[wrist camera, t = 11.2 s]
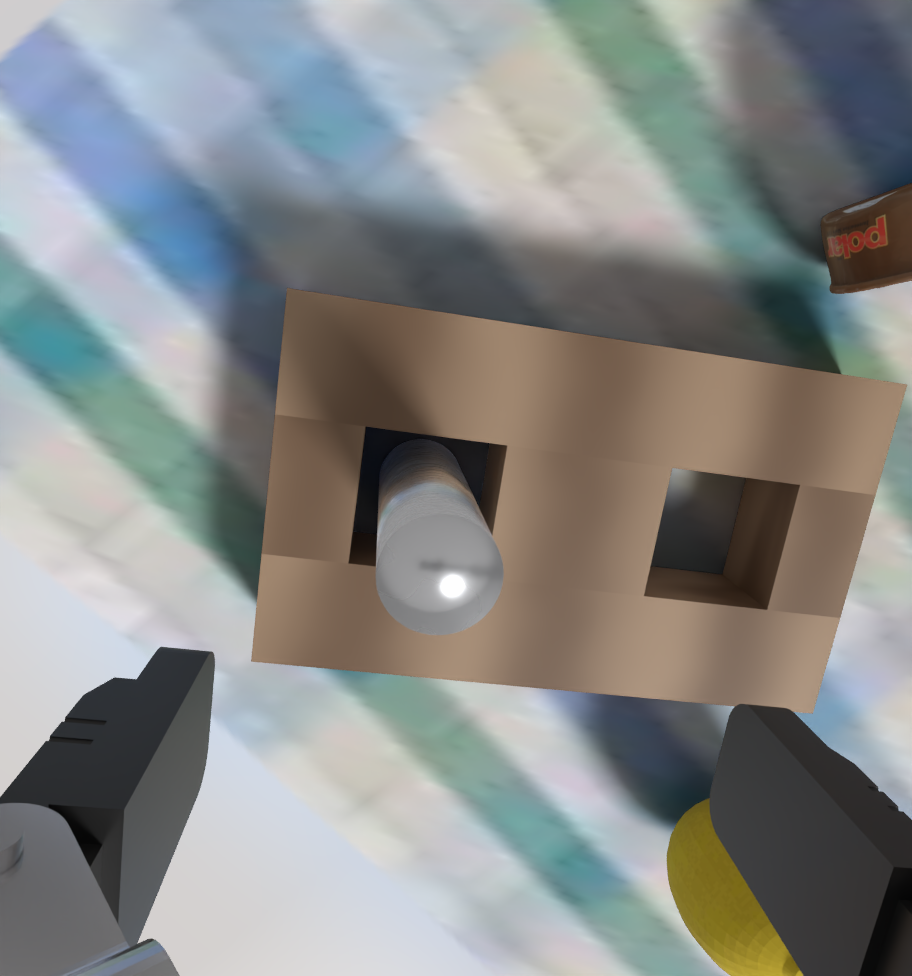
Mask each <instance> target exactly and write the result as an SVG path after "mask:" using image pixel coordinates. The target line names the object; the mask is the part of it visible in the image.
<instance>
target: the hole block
mask: <svg viewBox="0 0 912 976" xmlns="http://www.w3.org/2000/svg"><path fill="white" fill-rule="evenodd" d="M906 387H907V385H906V384H900V383H893V382H887V381H880V380H874V379H867V378H861V377H855V376H848V375H842V374H835V373H829V372H823V371H816V370H810V369H803V368H797V367H790V366H784V365H778V364H771V363H765V362H758V361H752V360H746V359H739V358H733V357H726V356H720V355H714V354H707V353H701V352H694V351H688V350H681V349H675V348H669V347H662V346H656V345H649V344H643V343H637V342H630V341H624V340H617V339H611V338H605V337H598V336H592V335H585V334H579V333H572V332H566V331H560V330H553V329H547V328H540V327H534V326H528V325H521V324H515V323H508V322H502V321H495V320H489V319H483V318H476V317H470V316H463V315H457V314H451V313H444V312H438V311H431V310H425V309H419V308H412V307H406V306H399V305H393V304H386V303H380V302H374V301H367V300H361V299H354V298H348V297H342V296H335V295H329V294H322V293H316V292H310V291H303V290H297V289H290V288H287V294H286V305H285V315H284V325H283V336H282V346H281V357H280V367H279V378H278V388H277V398H276V409H275V419H274V430H273V440H272V451H271V461H270V471H269V482H268V492H267V503H266V513H265V524H264V534H263V544H262V555H261V565H260V576H259V586H258V597H257V607H256V617H255V628H254V638H253V649H252V659H251V661H252V662H263V663H274V664H285V665H295V666H306V667H317V668H328V669H338V670H349V671H360V672H371V673H382V674H392V675H403V676H414V677H425V678H435V679H446V680H457V681H468V682H479V683H489V684H500V685H511V686H522V687H532V688H543V689H554V690H565V691H576V692H586V693H597V694H608V695H619V696H630V697H640V698H651V699H662V700H673V701H683V702H694V703H705V704H716V705H727V706H737V705H738V704H750V705H761V706H771V707H781V708H788V709H790V710H791V711H792V712H802V713H813V711H814V707H815V704H816V700H817V697H818V693H819V690H820V686H821V683H822V679H823V676H824V672H825V669H826V665H827V662H828V658H829V655H830V651H831V648H832V644H833V641H834V638H835V634H836V631H837V627H838V624H839V620H840V617H841V613H842V610H843V606H844V603H845V599H846V596H847V592H848V589H849V585H850V582H851V578H852V575H853V571H854V568H855V564H856V561H857V558H858V554H859V551H860V547H861V544H862V540H863V537H864V533H865V530H866V526H867V523H868V519H869V516H870V512H871V509H872V505H873V502H874V498H875V495H876V491H877V488H878V484H879V481H880V477H881V474H882V471H883V467H884V464H885V460H886V457H887V453H888V450H889V446H890V443H891V439H892V436H893V432H894V429H895V425H896V422H897V418H898V415H899V411H900V408H901V404H902V401H903V397H904V394H905V391H906ZM366 427H373V428H381V429H388V430H396V431H403V432H410V433H418V434H425V435H433V436H440V437H448V438H455V439H463V440H470V441H477V442H485V443H490V444H489V450H488V456H487V462H486V468H485V475H484V481H483V487H482V493H481V499H480V505H479V509H480V511H481V513H482V515H483V517H484V519H485V522H486V524H487V526H488V528H489V530H490V532H491V534H492V537H493V539H494V541H495V543H496V545H497V547H498V549H499V552H500V554H501V558H502V562H503V570H504V577H503V584H502V588H501V592H500V594H499V597H498V599H497V601H496V603H495V604H494V606H493V607H492V609H491V610H490V611H489V612H488V613H487V614H486V616H485V617H484V618H482V619H481V620H480V621H479V622H477V623H476V624H474V625H473V626H471V627H469V628H467V629H465V630H463V631H460V632H457V633H453V634H448V635H428V634H422V633H419V632H416V631H413V630H411V629H409V628H407V627H405V626H403V625H402V624H400V623H399V622H398V621H396V620H395V619H394V618H393V617H392V616H391V615H390V614H389V613H388V611H387V610H386V608H385V607H384V605H383V603H382V602H381V600H380V597H379V594H378V591H377V586H376V552H377V534H370V533H361V532H353V528H354V520H355V512H356V504H357V496H358V488H359V480H360V472H361V464H362V456H363V448H364V440H365V432H366ZM672 468H678V469H686V470H693V471H700V472H708V473H715V474H723V475H730V476H738V477H745V478H746V481H745V485H744V489H743V493H742V497H741V501H740V505H739V509H738V513H737V517H736V521H735V525H734V530H733V534H732V538H731V542H730V546H729V550H728V554H727V558H726V562H725V566H724V570H723V574H713V573H705V572H696V571H688V570H679V569H670V568H662V567H653V566H651V561H652V557H653V552H654V548H655V543H656V539H657V534H658V530H659V525H660V521H661V516H662V512H663V507H664V503H665V498H666V494H667V489H668V485H669V480H670V476H671V471H672Z"/></svg>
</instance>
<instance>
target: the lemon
mask: <svg viewBox="0 0 912 976" xmlns="http://www.w3.org/2000/svg"><path fill="white" fill-rule="evenodd" d="M709 799H710V798H708V799H706V800H704V801H701V802H699V803H697V804H695V805H694V806H693V807H692V808H690V809H689V810H688V811H686V812H685V814H684V815H683V816H682V817H681V818H680V820H679V821H678V822H677V824H676V826H675V828H674V830H673V832H672V834H671V837H670V842H669V847H668V851H667V870H668V879H669V885H670V889H671V892H672V895H673V898H674V900H675V903H676V905H677V908H678V910H679V913H680V915H681V917H682V919H683V921H684V923H685V925H686V926H687V928H688V930H689V931H690V933H691V934H692V936H693V937H694V938H695V939H696V941H697V942H698V943H699V944H700V946H701V947H702V948H703V949H704V950H705V952H706V953H707V954H708V955H709V956H710V957H711V959H712V960H713V961H714V962H715V963H716V964H717V965H718V966H719V967H720V968H721V969H723V970H724V971H725V972H726V973H728V974H729V975H731V976H803V974H802V972H801V971H800V969H799V967H798V966H797V964H796V963H795V961H794V959H793V958H792V956H791V955H790V953H789V951H788V950H787V948H786V946H785V945H784V943H783V942H782V940H781V938H780V937H779V935H778V933H777V932H776V930H775V929H774V927H773V925H772V924H771V922H770V921H769V919H768V917H767V916H766V914H765V912H764V911H763V909H762V908H761V906H760V904H759V903H758V901H757V900H756V898H755V896H754V895H753V893H752V891H751V890H750V888H749V887H748V885H747V883H746V882H745V880H744V878H743V877H742V875H741V874H740V872H739V870H738V869H737V867H736V866H735V864H734V862H733V861H732V859H731V857H730V856H729V854H728V853H727V851H726V849H725V848H724V846H723V845H722V843H721V841H720V840H719V838H718V836H717V835H716V833H715V830H714V828H713V825H712V821H711V816H710V806H709Z"/></svg>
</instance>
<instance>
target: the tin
mask: <svg viewBox="0 0 912 976" xmlns="http://www.w3.org/2000/svg"><path fill="white" fill-rule="evenodd" d="M821 234H822V240H823V246H824V250H825V255H826V259H827V263H828V268H829V272H830V276H831V285H830V292H831V293H835V294H844V293H853V292H859V291H865V290H870V289H874V288H881V287H885V286H889V285H893V284H898V283H903V282H908V281H912V183H910V184H907V185H905V186H902V187H899V188H896V189H894V190H891V191H888V192H886V193H883V194H880V195H877V196H875V197H872V198H869V199H866V200H863V201H860V202H858V203H855V204H852V205H849V206H846V207H844V208H841V209H838V210H835V211H833V212H830V213H828V214H827V215H825V216H824V217H823V218H822V220H821Z"/></svg>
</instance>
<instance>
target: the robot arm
mask: <svg viewBox="0 0 912 976" xmlns="http://www.w3.org/2000/svg"><path fill="white" fill-rule="evenodd" d="M214 669H215V658H214V653H213V652H209V651H199V650H188V649H178V648H167V647H160V648H159V649H158V650H157V651H156V653H155V654H154V655H153V657H152V658H151V660H150V661H149V662H148V664H147V665H146V667H145V668H144V670H143V671H142V672H141V674H140V675H139V677H138V678H137V679H136V680H135V679H125V678H113V679H111V680H109V681H107V682H106V683H104V684H102V685H100V686H99V687H97V688H95V689H94V690H92V691H90V692H88V693H86V694H85V695H83V696H82V698H81V699H80V700H79V701H78V703H77V704H76V705H75V706H74V707H73V709H72V710H71V711H70V713H69V714H68V715H67V716H66V717H65V721H64V722H61V723H60V725H59V726H58V727H57V728H56V729H55V731H54V732H53V733H52V734H51V736H50V740H49V741H46V742H45V743H44V744H43V746H42V747H41V748H40V749H39V750H38V752H37V753H36V754H35V755H34V756H33V758H32V759H31V760H30V761H29V763H28V764H27V765H26V766H25V768H24V769H23V770H22V771H21V772H20V774H19V775H18V776H17V777H16V779H15V780H14V781H13V782H12V783H11V785H10V786H9V787H8V788H7V790H6V791H5V792H4V794H3V795H2V796H1V797H0V976H179V974H178V972H177V971H176V968H175V967H174V965H173V963H172V961H171V959H170V957H169V956H168V954H167V952H166V951H165V949H164V948H163V947H162V946H161V945H160V943H158V942H157V941H156V940H154V939H147V940H145V941H143V942H141V943H138V944H137V942H138V940H139V938H140V935H141V933H142V930H143V928H144V925H145V923H146V920H147V918H148V916H149V913H150V910H151V908H152V906H153V903H154V901H155V898H156V896H157V893H158V891H159V889H160V886H161V884H162V881H163V879H164V876H165V874H166V871H167V869H168V866H169V864H170V862H171V859H172V857H173V854H174V852H175V849H176V847H177V845H178V842H179V840H180V837H181V835H182V832H183V830H184V827H185V825H186V823H187V820H188V818H189V815H190V813H191V810H192V808H193V805H194V803H195V801H196V798H197V796H198V793H199V790H200V786H201V783H202V779H203V775H204V770H205V766H206V759H207V753H208V743H209V731H210V719H211V706H212V694H213V682H214ZM709 806H710V816H711V821H712V825H713V828H714V830H715V833H716V835H717V836H718V838H719V840H720V841H721V843H722V845H723V846H724V848H725V849H726V851H727V853H728V854H729V856H730V857H731V859H732V861H733V862H734V864H735V866H736V867H737V869H738V870H739V872H740V874H741V875H742V877H743V878H744V880H745V882H746V883H747V885H748V887H749V888H750V890H751V891H752V893H753V895H754V896H755V898H756V900H757V901H758V903H759V904H760V906H761V908H762V909H763V911H764V912H765V914H766V916H767V917H768V919H769V921H770V922H771V924H772V925H773V927H774V929H775V930H776V932H777V933H778V935H779V937H780V938H781V940H782V942H783V943H784V945H785V946H786V948H787V950H788V951H789V953H790V955H791V956H792V958H793V959H794V961H795V963H796V964H797V966H798V967H799V969H800V971H801V972H802V974H803V976H912V820H911V819H910V818H909V817H908V816H907V815H906V814H905V813H904V812H900V811H898V806H897V805H896V804H895V803H894V802H893V801H892V800H891V799H890V798H889V797H888V796H887V795H886V794H885V793H884V792H879V791H878V786H876V785H875V784H874V783H873V782H872V781H871V780H870V779H869V778H868V777H867V776H866V775H865V774H864V773H863V772H862V771H861V770H860V769H859V768H858V767H857V766H856V765H855V764H854V763H852V762H851V761H849V760H848V759H846V758H844V757H843V756H841V755H840V754H838V753H837V752H835V751H834V750H832V749H830V748H829V747H828V746H827V745H826V744H825V743H824V742H823V741H822V740H821V739H820V738H819V737H818V736H817V735H816V734H815V733H814V732H813V731H812V730H811V729H810V728H809V727H808V726H807V725H806V724H805V723H804V722H803V721H802V720H801V719H800V718H799V717H798V716H797V715H796V714H795V713H794V712H792V711H791V710H790V709H788V708H781V707H771V706H761V705H750V704H738V705H737V706H735V707H734V709H733V710H732V712H731V714H730V716H729V719H728V723H727V727H726V731H725V735H724V739H723V743H722V747H721V750H720V754H719V758H718V762H717V766H716V770H715V774H714V778H713V782H712V786H711V791H710V799H709Z"/></svg>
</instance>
